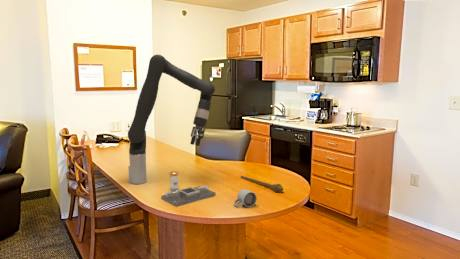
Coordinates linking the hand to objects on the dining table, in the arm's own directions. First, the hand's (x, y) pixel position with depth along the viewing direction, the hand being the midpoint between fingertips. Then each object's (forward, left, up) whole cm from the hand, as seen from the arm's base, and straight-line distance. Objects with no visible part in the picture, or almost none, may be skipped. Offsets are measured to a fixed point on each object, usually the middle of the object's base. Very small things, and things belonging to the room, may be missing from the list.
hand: (194, 145), depth 191 cm
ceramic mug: (+39, -17, -23) cm, 48 cm away
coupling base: (+9, -20, -23) cm, 32 cm away
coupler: (-4, -15, -23) cm, 28 cm away
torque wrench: (+35, +16, -23) cm, 45 cm away
